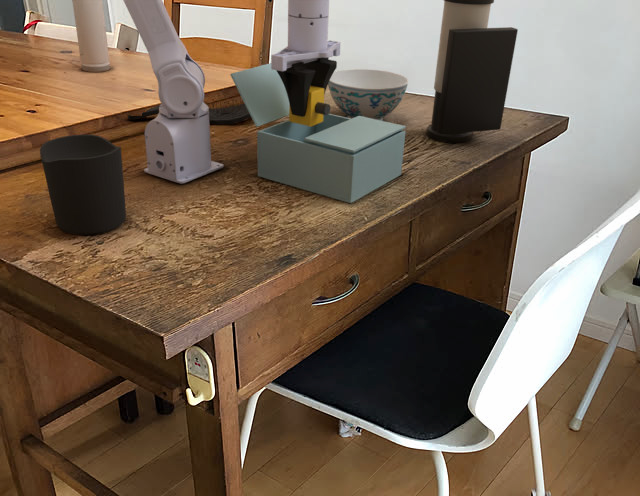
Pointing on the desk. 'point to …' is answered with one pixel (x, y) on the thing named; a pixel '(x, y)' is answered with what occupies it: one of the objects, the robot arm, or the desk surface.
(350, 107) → the chinaware
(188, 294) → the desk surface
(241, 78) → the flap
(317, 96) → the yellow block with knob
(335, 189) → the case
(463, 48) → the light fixture
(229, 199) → the desk surface
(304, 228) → the desk surface
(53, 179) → the pen holder
